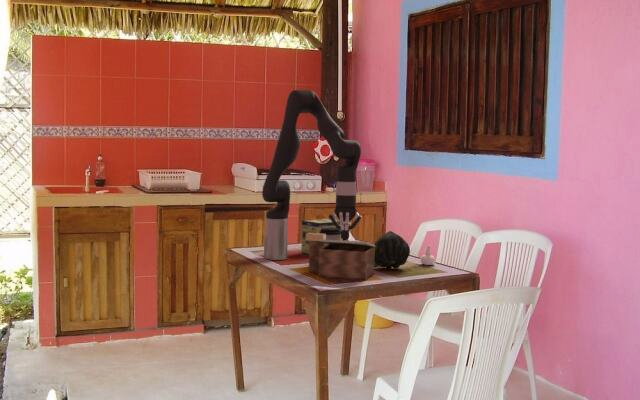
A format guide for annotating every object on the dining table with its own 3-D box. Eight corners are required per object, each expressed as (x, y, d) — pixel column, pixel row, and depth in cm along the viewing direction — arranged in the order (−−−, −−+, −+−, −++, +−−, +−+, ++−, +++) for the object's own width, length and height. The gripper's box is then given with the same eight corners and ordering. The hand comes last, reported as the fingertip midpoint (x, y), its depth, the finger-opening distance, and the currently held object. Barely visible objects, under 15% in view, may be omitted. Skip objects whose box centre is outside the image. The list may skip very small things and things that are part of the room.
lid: (319, 241, 262) (319, 239, 262) (329, 244, 276) (329, 242, 276) (367, 244, 257) (367, 241, 257) (375, 247, 270) (375, 244, 270)
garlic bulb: (427, 262, 301) (428, 243, 301) (438, 264, 296) (438, 245, 296) (417, 263, 297) (417, 245, 297) (427, 266, 292) (428, 246, 292)
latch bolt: (305, 240, 272) (305, 234, 272) (308, 239, 276) (308, 232, 276) (323, 241, 270) (323, 235, 270) (325, 240, 274) (326, 233, 274)
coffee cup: (319, 266, 286) (319, 230, 284) (319, 262, 295) (318, 227, 294) (342, 266, 286) (342, 229, 285) (341, 262, 295) (341, 227, 294)
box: (302, 275, 265) (302, 243, 264) (313, 269, 278) (314, 239, 277) (365, 280, 258) (366, 247, 257) (374, 274, 271) (374, 242, 270)
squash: (366, 267, 286) (367, 230, 285) (399, 265, 292) (400, 229, 290) (381, 273, 273) (382, 234, 272) (415, 271, 278) (416, 233, 277)
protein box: (300, 255, 313) (301, 220, 312) (326, 252, 324) (326, 218, 323) (316, 258, 306) (316, 222, 304) (342, 255, 316) (342, 220, 315)
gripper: (326, 193, 259) (325, 240, 260) (361, 195, 255) (359, 242, 257) (331, 192, 266) (330, 238, 268) (365, 193, 262) (364, 240, 264)
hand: (345, 240), depth 262 cm, fingers closed
